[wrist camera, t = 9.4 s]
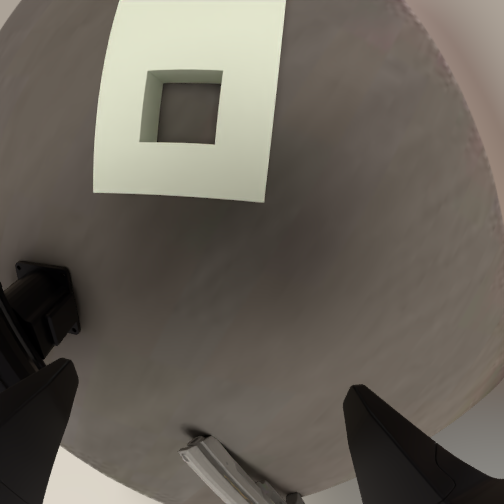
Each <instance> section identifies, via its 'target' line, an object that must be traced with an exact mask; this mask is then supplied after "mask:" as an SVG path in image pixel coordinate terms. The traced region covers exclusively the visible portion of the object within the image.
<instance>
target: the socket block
mask: <svg viewBox="0 0 504 504" xmlns="http://www.w3.org/2000/svg"><path fill="white" fill-rule="evenodd" d="M285 4H286V0H120V1H119V4H118V8H117V11H116V15H115V18H114V22H113V26H112V30H111V34H110V38H109V43H108V47H107V52H106V57H105V62H104V67H103V73H102V79H101V86H100V93H99V101H98V109H97V119H96V130H95V144H94V168H93V193H127V194H152V195H171V196H188V197H202V198H216V199H228V200H240V201H251V202H262V203H264V198H265V189H266V181H267V172H268V163H269V154H270V145H271V136H272V127H273V118H274V109H275V99H276V90H277V81H278V71H279V62H280V53H281V43H282V33H283V24H284V14H285ZM163 83H209V84H221V92H220V101H219V110H218V119H217V128H216V138H215V145H212V144H194V143H163V142H157V135H158V124H159V114H160V105H161V97H162V89H163Z"/></svg>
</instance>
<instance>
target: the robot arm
mask: <svg viewBox="0 0 504 504" xmlns="http://www.w3.org/2000/svg"><path fill="white" fill-rule="evenodd" d="M15 266H16V272H17V277H18V280H17V281H16V282H15V283H13V284H12V285H11V286H9V287H8V288H7V289H6V290H4V291H3V289H2V285H1V282H0V504H43V499H44V495H45V492H46V488H47V484H48V481H49V477H50V474H51V470H52V467H53V464H54V461H55V457H56V454H57V452H58V449H59V446H60V443H61V440H62V437H63V434H64V431H65V429H66V426H67V423H68V420H69V417H70V413H71V409H72V405H73V401H74V398H75V394H76V391H77V387H78V383H79V379H78V375H77V372H76V370H75V367H74V364H73V362H72V361H71V360H69V359H65V358H59V359H58V360H56V361H54V362H52V363H51V364H49V365H47V366H46V364H45V363H44V361H43V360H44V359H45V358H46V356H47V355H48V353H49V352H50V351H51V349H52V348H53V347H54V345H55V346H58V345H59V344H60V342H61V341H62V340H63V338H64V337H65V336H66V334H67V333H71V334H75V335H77V334H79V332H80V330H81V329H80V325H79V320H78V314H77V309H76V304H75V299H74V295H73V291H72V285H71V280H70V273H69V271H68V269H66V268H64V267H58V266H51V265H44V264H37V263H30V262H24V261H19V262H17V263H16V265H15ZM20 267H21V268H20ZM63 273H64V274H65V275H64V274H63ZM42 359H43V360H42ZM343 410H344V417H345V424H346V431H347V439H348V445H349V449H350V453H351V457H352V461H353V465H354V469H355V473H356V477H357V481H358V485H359V489H360V493H361V497H362V502H363V504H504V479H497V478H493V477H490V476H488V475H486V474H484V473H482V472H481V471H479V470H477V469H475V468H474V467H472V466H470V465H468V464H467V463H465V462H463V461H462V460H460V459H459V458H457V457H455V456H454V455H453V454H451V453H450V452H448V451H447V450H445V449H444V448H443V447H442V446H440V445H439V444H438V443H436V442H435V441H434V440H432V439H431V438H430V437H429V436H427V435H426V434H425V433H423V432H422V431H421V430H420V429H418V428H417V427H416V426H415V425H413V424H412V423H411V422H410V421H408V420H407V419H406V418H405V417H403V416H402V415H401V414H400V413H398V412H397V411H396V410H395V409H393V408H392V407H391V406H390V405H388V404H387V403H386V402H385V401H383V400H382V399H381V398H380V397H379V396H377V395H376V394H375V393H374V392H372V391H371V390H370V389H369V388H368V387H366V386H365V385H363V384H359V385H352V386H351V387H350V389H349V391H348V393H347V395H346V397H345V400H344V402H343Z"/></svg>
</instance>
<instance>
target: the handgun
mask: <svg viewBox="0 0 504 504" xmlns="http://www.w3.org/2000/svg"><path fill="white" fill-rule="evenodd" d="M178 453H179V454H180V455H181V457H182V459H183V460H184V461H185V462H187V464H188V465H189V466H190V467H191V468H192V469H193V470H194V471H195V473H196V474H197V475H198V476H199V477H200V478H201V479H202V480H203V481H204V482H205V483H206V484H207V485H208V486H209V487H210V488H211V489H212V490H213V491H214V492H215V493H216V494H217V495H218V496H219V497H220V498H221V499H222V500H223V501H224V502H225V503H226V504H274V503H275V504H305V503H304V502H303V500H302V498H301V496H300V494H299V493H298V492H297V493H294V494H290V495H287V497H286V501H285V500H284V499H283V498H282V497H281V496H280V495H279V494H278V493H277V492H276V491H275V490H274V488H273V487H272V486H271V485H270V484H269V483H268V482H267V481H262V482H258V481H257V482H254V481H253V480H252V479H251V478H250V477H249V476H248V475H247V474H246V473H245V471H244V470H243V469H242V468H241V467H240V466H239V464H238V463H237V462H236V461H235V460H234V459H233V458H232V457H231V456H230V454H229V453H228V452H227V451H226V450H225V448H224V447H223V446H222V445H221V443H220V442H219V441H218V440H217V439H215V438H214V437H213V436H209V437H207V438H204V437H202V436H198V437H195V438H194V439H192V440H191V441H190V442H189V443H188V444H187V447H186V448H181V449H180V450H179V451H178Z"/></svg>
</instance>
